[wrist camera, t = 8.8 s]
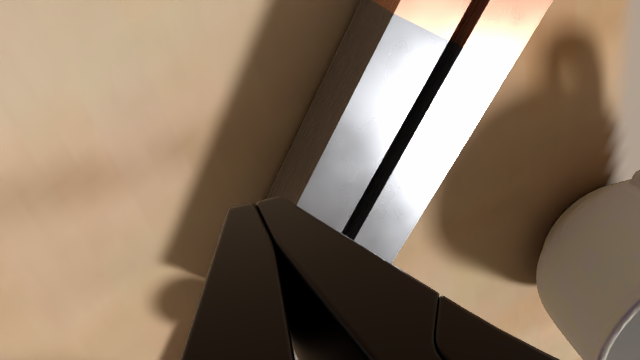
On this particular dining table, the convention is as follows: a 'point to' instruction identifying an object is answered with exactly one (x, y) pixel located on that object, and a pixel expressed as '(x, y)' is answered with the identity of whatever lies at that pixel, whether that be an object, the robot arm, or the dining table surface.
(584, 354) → the teacup
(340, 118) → the tongs arm
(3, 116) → the dining table surface
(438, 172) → the base
